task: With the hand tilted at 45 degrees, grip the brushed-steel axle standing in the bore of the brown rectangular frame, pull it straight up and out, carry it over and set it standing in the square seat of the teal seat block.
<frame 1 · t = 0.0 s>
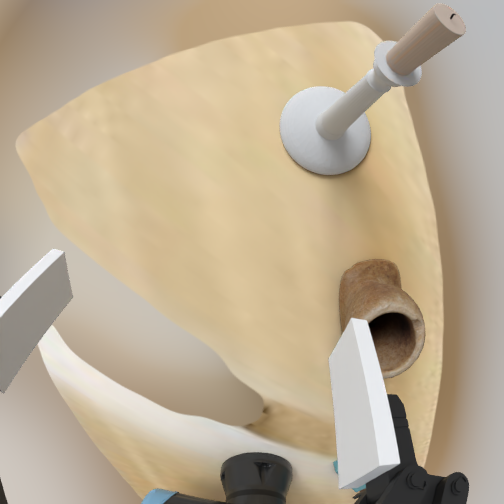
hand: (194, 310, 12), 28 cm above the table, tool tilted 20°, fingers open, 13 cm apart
candlestick: (325, 129, 37), on the table
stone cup: (362, 307, 41), on the table
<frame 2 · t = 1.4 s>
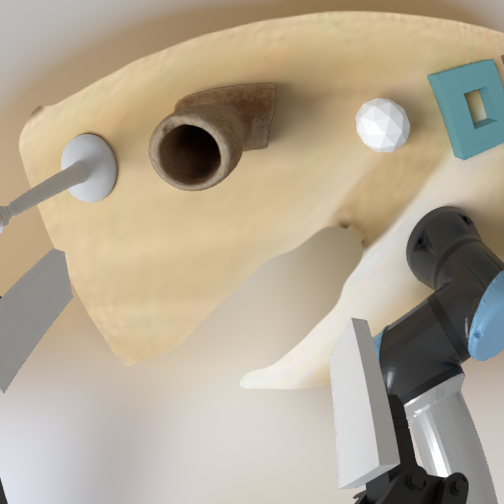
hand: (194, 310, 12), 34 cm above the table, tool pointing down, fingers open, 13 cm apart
seat block: (471, 105, 32), on the table
candlestick: (88, 168, 45), on the table
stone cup: (227, 126, 40), on the table
geometric ball: (374, 122, 37), on the table
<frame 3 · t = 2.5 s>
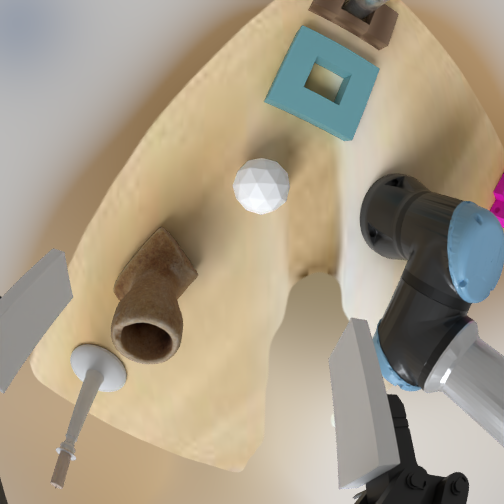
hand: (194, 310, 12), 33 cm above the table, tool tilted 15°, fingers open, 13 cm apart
seat block: (321, 84, 39), on the table
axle: (352, 13, 35), resting in brown rectangular frame
candlestick: (98, 367, 51), on the table
magenta curved bracket: (500, 193, 50), on the table
brown rectangular frame: (352, 13, 35), on the table
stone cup: (160, 279, 46), on the table
geometric ball: (257, 183, 43), on the table
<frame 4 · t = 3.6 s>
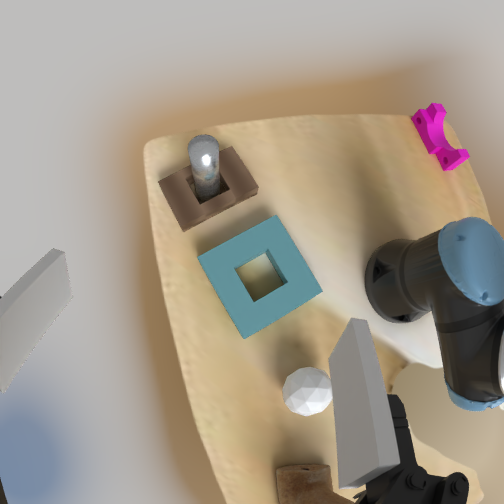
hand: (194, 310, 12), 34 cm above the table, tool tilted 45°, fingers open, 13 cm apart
seat block: (258, 277, 47), on the table
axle: (208, 191, 49), resting in brown rectangular frame
magenta curved bracket: (431, 144, 58), on the table
brown rectangular frame: (208, 191, 49), on the table
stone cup: (308, 487, 39), on the table
geometric ball: (301, 385, 43), on the table
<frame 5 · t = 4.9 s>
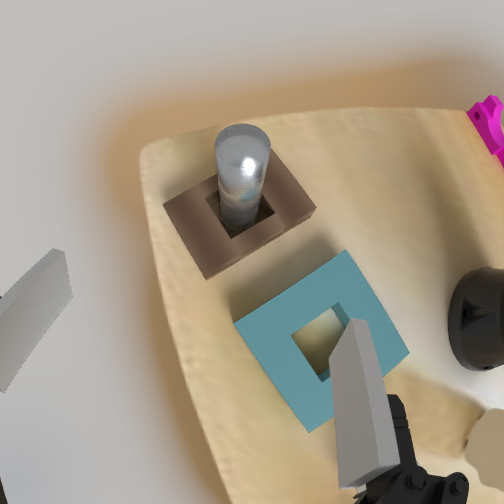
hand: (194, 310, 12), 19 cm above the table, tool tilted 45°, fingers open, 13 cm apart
seat block: (322, 341, 30), on the table
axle: (239, 215, 34), resting in brown rectangular frame
magenta curved bracket: (490, 143, 42), on the table
brown rectangular frame: (239, 215, 34), on the table
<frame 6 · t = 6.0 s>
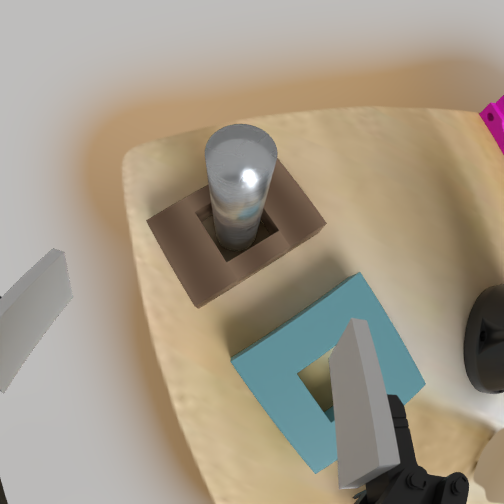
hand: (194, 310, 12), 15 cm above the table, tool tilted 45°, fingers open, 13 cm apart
seat block: (330, 374, 26), on the table
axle: (236, 231, 29), resting in brown rectangular frame
magenta curved bracket: (503, 145, 38), on the table
brown rectangular frame: (236, 231, 29), on the table
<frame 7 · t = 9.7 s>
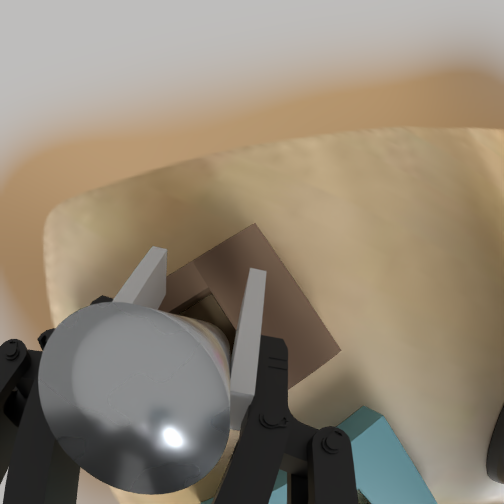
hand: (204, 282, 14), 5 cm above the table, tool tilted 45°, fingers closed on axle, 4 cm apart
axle: (199, 351, 18), resting in brown rectangular frame, touching gripper
brown rectangular frame: (199, 351, 18), on the table
when the fingers open (7 cm above the table, at t = 15.7 s): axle drops 1 cm, resting in seat block.
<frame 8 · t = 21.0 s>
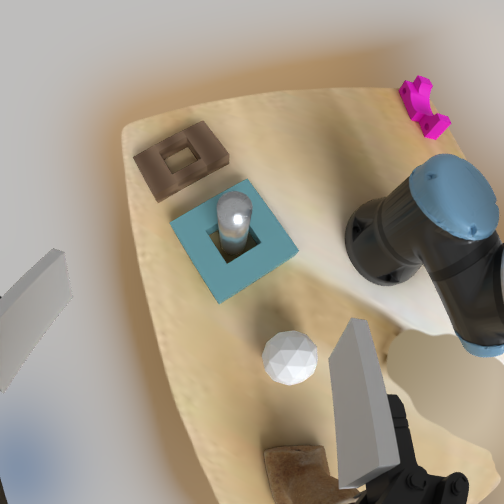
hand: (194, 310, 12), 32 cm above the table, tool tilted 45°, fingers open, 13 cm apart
seat block: (233, 242, 46), on the table
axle: (233, 242, 46), resting in seat block
magenta curved bracket: (416, 114, 58), on the table
brown rectangular frame: (181, 164, 49), on the table
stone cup: (303, 473, 37), on the table
geometric ball: (285, 355, 42), on the table
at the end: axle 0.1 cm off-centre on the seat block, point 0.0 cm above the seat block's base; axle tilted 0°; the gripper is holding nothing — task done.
